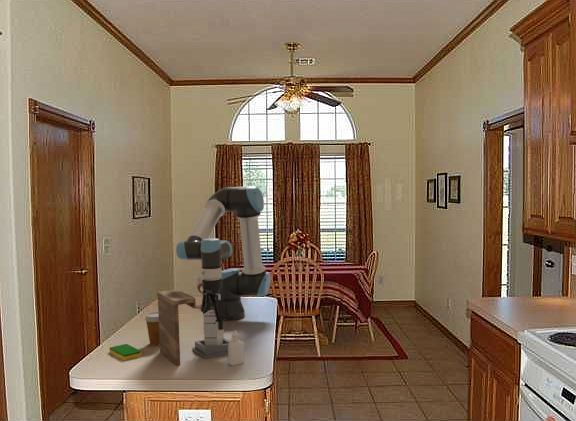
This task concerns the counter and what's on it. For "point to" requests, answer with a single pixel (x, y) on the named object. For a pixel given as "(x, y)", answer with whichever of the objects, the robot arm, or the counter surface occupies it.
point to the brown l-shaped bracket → (171, 322)
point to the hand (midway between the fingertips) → (213, 334)
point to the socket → (211, 349)
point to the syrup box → (211, 329)
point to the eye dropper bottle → (235, 350)
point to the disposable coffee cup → (153, 327)
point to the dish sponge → (125, 352)
